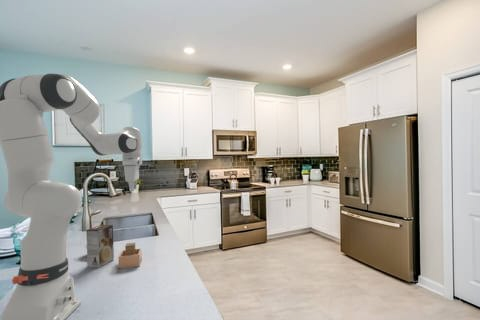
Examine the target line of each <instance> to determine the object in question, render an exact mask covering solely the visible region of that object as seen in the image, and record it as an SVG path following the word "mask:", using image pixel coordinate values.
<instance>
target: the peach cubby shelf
mask: <svg viewBox="0 0 480 320" xmlns="http://www.w3.org/2000/svg"><path fill="white" fill-rule="evenodd" d="M142 256H143V253H142V248H135V255H127V256H126V250H125V249H122V250H121V252H120V253H119V255H118V269H130V268H136V267H140V266H141V263H142V259H143V258H142Z"/></svg>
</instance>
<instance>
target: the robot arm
mask: <svg viewBox="0 0 480 320" xmlns="http://www.w3.org/2000/svg"><path fill="white" fill-rule="evenodd" d="M57 110H62V111H63V112H64V113H65V114H66V115H67V116H68V117H69V121H70V123H71V125H72V126H73V127H74V129H75V130H76V131H77V132H78V133H79V134H80V136H82V137H83V139H85V141H86V142H87V143H88V145H89V146H90V148H91V150H92V151H93V152H94V153H95V154H96V155H98V156H108V155H109V156H111V155H122V160H121V161H122V166H123V170H124V171H123V173H124V179H125V182H126V183H128V188H129V192H133V191H134V190H136V189H137V185H138V180H139V179H140V169H141V168H140V166H142V165H143V153H142V147H143V140H142V138H143V137H142V133H141V131H140V129H138V128H137V127H133V126H125V127H123V129H122V130H121V131H118V132H112V133H111V132H110V133H104V132H99V130H98V129H96V127H95V126H94V125H93V124H94V123H95V121H97V119H98V118H99V117H100V114H101V105H100V103H99V102H98V100H97V99H96V98H95V97H94V96H93V95H92V94H91V92H90V91H89V90H87V88H85V87H84V86H83V85H82V84H81V83H79V81H77V80H76V79H74V78H73V77H71V76H70V75H68V74H57V73H46V74H31V75H30V74H29V75H24V76H22V77H18V78H10V79H8V80H7V81H4V82H2V84H1V85H0V148H1V150H2V154H3V157H4V160H5V164H6V168H7V191H6V193H5V195H4V200H3V202H4V206H5V207H6V209H7V210H8V211H9V212H12V213H13V214H15V215H17V216H20V217H24V218H30V223H29V227H28V229H27V233H26V234H25V236H24V237H22V238H21V240H20V247H19V248H20V267H19V269H18V273H17V275H14V276H13V277H12V280H11V281H12V282H11V283H12V285H16V284H17V285H16V287H15V288H14V290H13V291H12V292H13V293H12V294H11V296H10V297H9V300H8V302H7V304H6V305H5V308H4V310H3V312H2V315H1V320H66V319H67V318H68V317H69V316H70V315H71V314H72V313H73V312H74V311H75V310H76V309H77V308H78V307H79V306H80V305H81V299H79V298H76V292H75V291H76V289H75V280H74V278H73V276H71V275H70V273H69V259H68V257H67V235H68V234H67V233H68V229H69V225H70V223H71V220H72V218H73V216H74V215H75V214H76V213H77V212H78V211H79V210H80V208H81V206H82V202H83V197H82V193H81V192H80V190H79V189H78V188H77V187H75V186H73V185H71V184H67V183H66V182H65V183H64V182H61V181H60V182H59V181H51V179H50V178H51V177H50V174H51V173H50V171H51V170H50V169H51V166H52V165H53V162H54V161H55V156H54V152H53V149H52V145H51V144H52V143H51V141H50V138H49V133H48V131H47V127H46V125H45V123H44V119H43V117H44V113H49V112H54V111H57Z"/></svg>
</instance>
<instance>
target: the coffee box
mask: <svg viewBox="0 0 480 320" xmlns="http://www.w3.org/2000/svg"><path fill="white" fill-rule="evenodd" d="M85 232H86V236H85V237H86V244H87V248H86V260H87V262H86V266H87V267H88V268H101V267H103V266H105V265H107V264H109V263H110V262H112V261H114V260H115V255H114V253H115V252H114V250H115V249H114V248H115V247H114V225H113V224H100V225H97V226H93V227H91V228H88V229H86V231H85Z"/></svg>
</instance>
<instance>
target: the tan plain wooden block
mask: <svg viewBox="0 0 480 320" xmlns="http://www.w3.org/2000/svg"><path fill="white" fill-rule="evenodd" d="M124 247H125V249H124V250H126V256H127V255H135V249H136V242H127V243H126V244H125V246H124Z"/></svg>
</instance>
